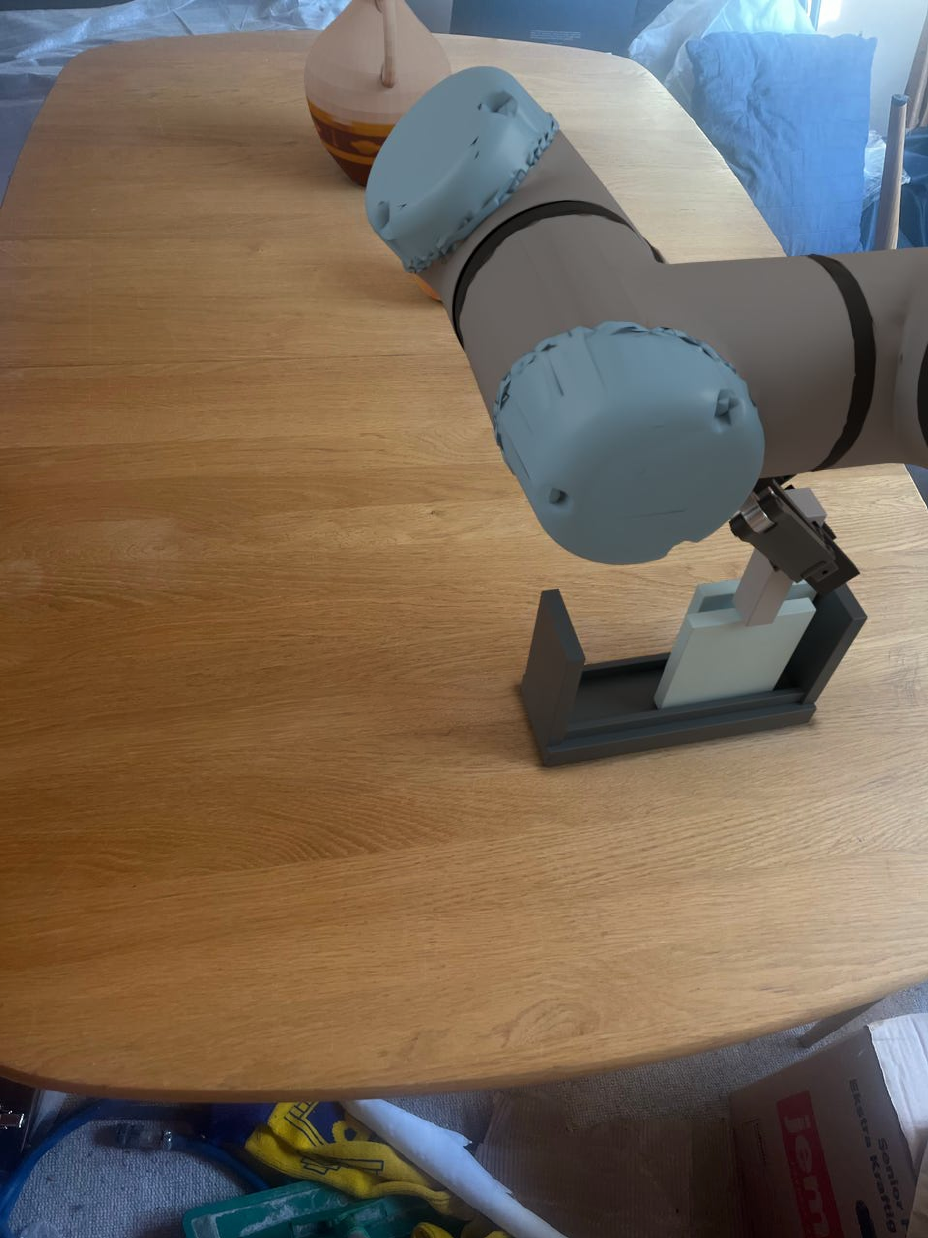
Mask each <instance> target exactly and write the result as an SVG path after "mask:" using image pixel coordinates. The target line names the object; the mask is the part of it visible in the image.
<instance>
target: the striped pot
mask: <svg viewBox="0 0 928 1238" xmlns="http://www.w3.org/2000/svg"><path fill="white" fill-rule="evenodd" d="M313 41H314V42H313V43H312V45H311V47H310V49H309V51H308V54H307V55H306V58H305V66H304V74H303V83H304V91H305V98H306V103H307V106H308V109H309V113H310V117H311V120H312V123H313V126H314V128H315V130H316V132H317V135H318V137H319V139H320V142H321V144H322V145H323V147H324V148H325V149H326V150H327V152H328V153H329V154H330V157H332V159H333V160H334V161H335V163H337V165H338V166H339V167H340V169H341V170H342V171H343V172H344V173H345V174H346V175H347V177H348V178H350V180H351V181H353V183H356V184H358V185H360V186H363V187H367V183H368V178H369V175H370V172H371V169H372V166H373V164H374V161H375V159H376V157H377V155H378V153H379V151H380V149H381V147H382V145H383V144H384V142H385V140H386V139H387V137H388V136H389V134H390V133H391V131H392V130H393V128H394V127H395V125H396V124H397V123H398V121H399V120H400V119H401V118H402V117H403V116H404V115H405V114H406V112H407V111H408V110H409V109H410V108H411V107H412V106H413V105H414V104H415V103H416V102H417V101H418V100H419V99H420V98H421V97H422V96H423V95H424V94H425V93H426V92H427V91H428V90H430V89H431V88H432V87H434V86H435V85H436V84H438V83H439V82H441V81H442V80H444V79H445V78H447V77H449V76H451V75H453V74H452V67H451V63H450V61H449V59H448V57H447V55H446V52H445V50H444V48H443V46H442V44H441V43H440V42H439V41H438V40H437V38H436V36H434V35H433V33H432V32H431V31H430V30H429V29H428V27H426V26H425V24H424V23H423V22H422V21H421V20H420V19H419V18H418V17H417V16H416V14H415V13H414V11H413V10H412V9H411V7H410V6H409V5H408V3H407V2H406V0H351V1H350V2H349V3H348V4H347V5H346V7H345V8H344V9H343V10H342V11H341V12H340V13H339V14H338V15H337V16H336V17H335V18H334V19H333V20H332V21H331V22H329V24H327V26H326V27H325V28H324V29H323V30H322V31H321V32H320V33H319V35H317V37H316V38H315V39H314V40H313Z"/></svg>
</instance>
